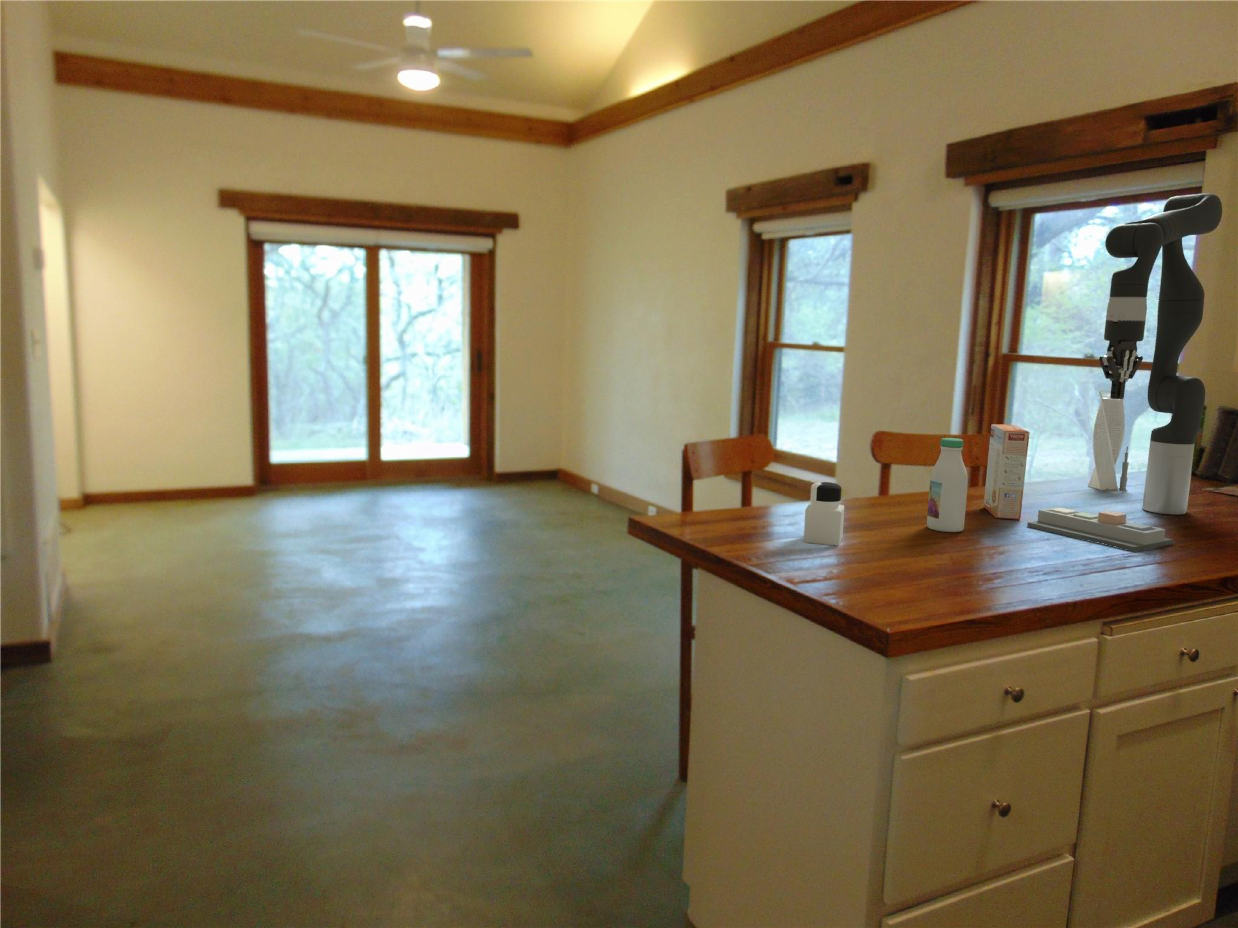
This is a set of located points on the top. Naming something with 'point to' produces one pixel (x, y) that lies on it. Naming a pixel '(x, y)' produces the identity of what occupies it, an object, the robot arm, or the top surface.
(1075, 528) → the keypad
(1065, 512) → the key ivory
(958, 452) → the milk bottle
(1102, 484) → the skyscraper
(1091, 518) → the key sage
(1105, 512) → the block
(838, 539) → the medicine bottle
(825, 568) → the top surface
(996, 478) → the cracker box
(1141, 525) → the key slate
